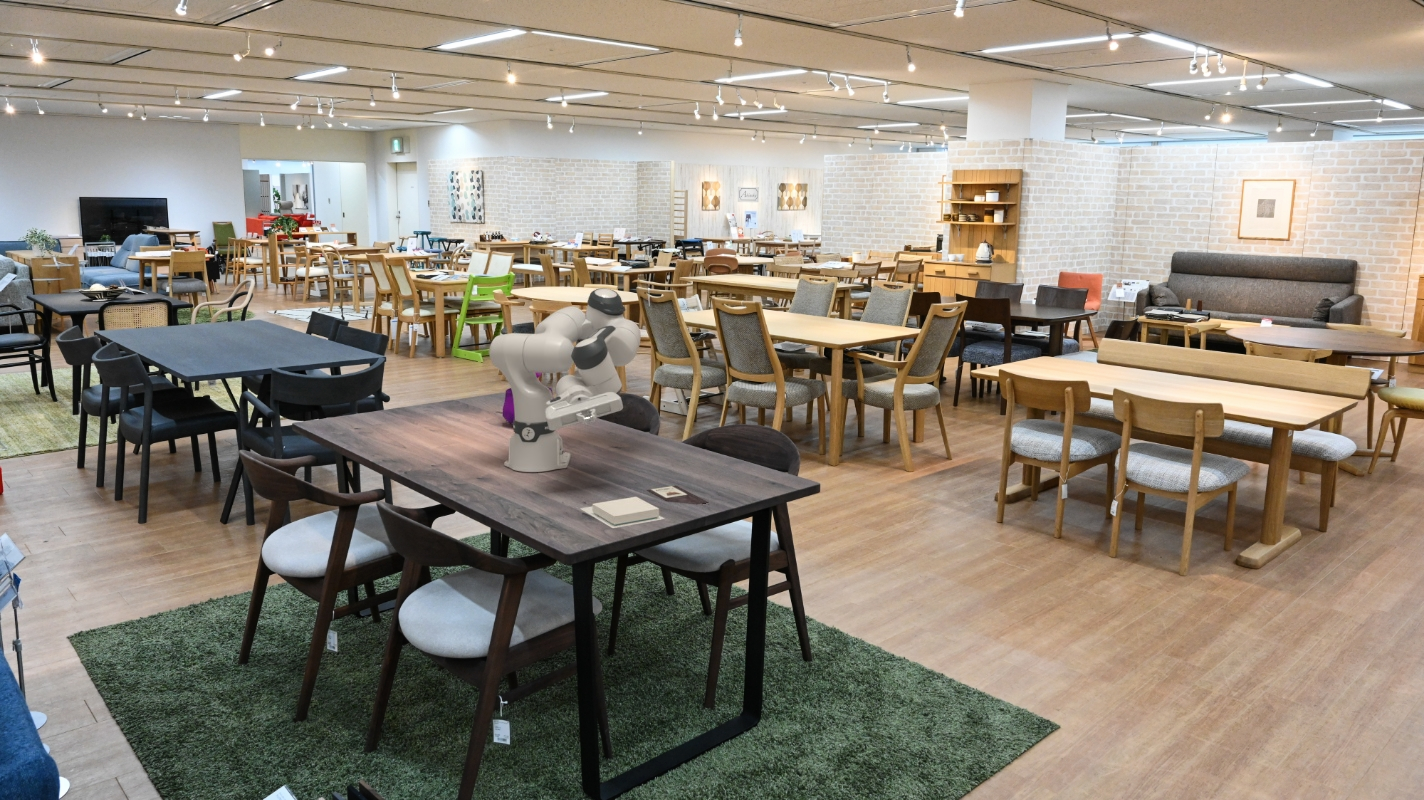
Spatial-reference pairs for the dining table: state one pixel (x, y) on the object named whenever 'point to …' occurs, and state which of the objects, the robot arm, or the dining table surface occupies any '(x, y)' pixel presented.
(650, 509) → the tile
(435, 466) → the dining table surface
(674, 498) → the chocolate bar
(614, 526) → the mat
